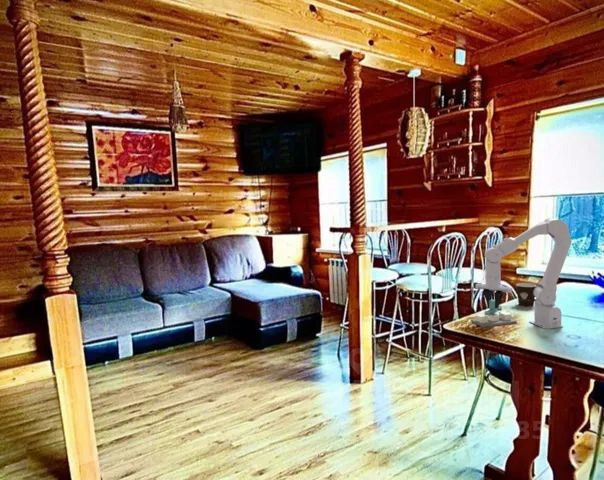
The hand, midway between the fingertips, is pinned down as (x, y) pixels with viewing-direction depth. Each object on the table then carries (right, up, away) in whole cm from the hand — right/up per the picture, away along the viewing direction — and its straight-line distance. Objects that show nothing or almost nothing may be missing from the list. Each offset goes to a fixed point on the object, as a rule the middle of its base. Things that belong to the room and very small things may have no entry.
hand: (493, 307), depth 170 cm
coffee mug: (+28, -3, +22) cm, 36 cm away
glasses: (0, -2, 0) cm, 2 cm away
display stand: (0, -7, +1) cm, 7 cm away
